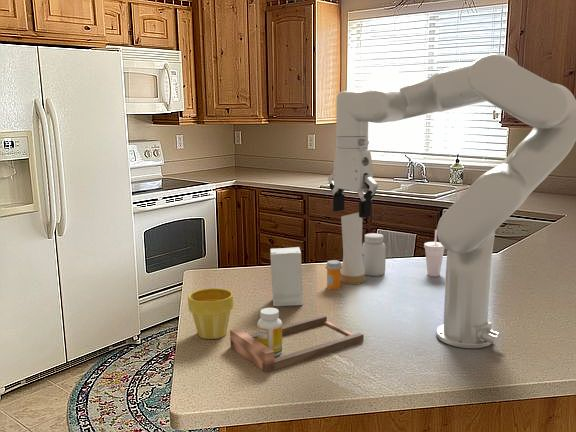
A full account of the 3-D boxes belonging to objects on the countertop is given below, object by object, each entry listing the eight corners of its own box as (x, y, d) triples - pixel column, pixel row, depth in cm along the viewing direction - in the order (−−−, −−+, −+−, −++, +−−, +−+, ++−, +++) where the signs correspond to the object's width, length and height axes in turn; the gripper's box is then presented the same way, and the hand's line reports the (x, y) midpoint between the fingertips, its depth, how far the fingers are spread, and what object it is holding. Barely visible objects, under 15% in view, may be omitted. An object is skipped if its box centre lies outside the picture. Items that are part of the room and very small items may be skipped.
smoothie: (446, 273, 180) (448, 229, 177) (440, 278, 174) (442, 233, 172) (427, 270, 183) (428, 227, 180) (420, 275, 178) (421, 231, 175)
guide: (363, 341, 131) (363, 324, 130) (266, 372, 116) (265, 353, 115) (323, 320, 143) (323, 305, 142) (230, 346, 128) (230, 330, 128)
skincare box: (301, 298, 159) (301, 246, 156) (303, 306, 153) (302, 252, 150) (271, 299, 158) (270, 247, 156) (271, 307, 153) (270, 253, 150)
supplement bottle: (258, 358, 123) (257, 316, 121) (257, 347, 128) (256, 306, 126) (283, 357, 123) (282, 314, 121) (281, 346, 128) (280, 305, 126)
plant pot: (204, 322, 142) (202, 285, 140) (241, 328, 138) (240, 290, 136) (181, 339, 133) (179, 298, 131) (220, 345, 129) (219, 304, 127)
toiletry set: (370, 268, 186) (371, 205, 182) (390, 273, 181) (391, 209, 177) (318, 286, 169) (318, 218, 165) (338, 292, 164) (338, 221, 160)
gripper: (389, 144, 133) (387, 217, 136) (341, 140, 147) (340, 206, 150) (364, 146, 128) (363, 221, 132) (317, 142, 142) (317, 210, 146)
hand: (351, 213), depth 141 cm, fingers open, 9 cm apart
